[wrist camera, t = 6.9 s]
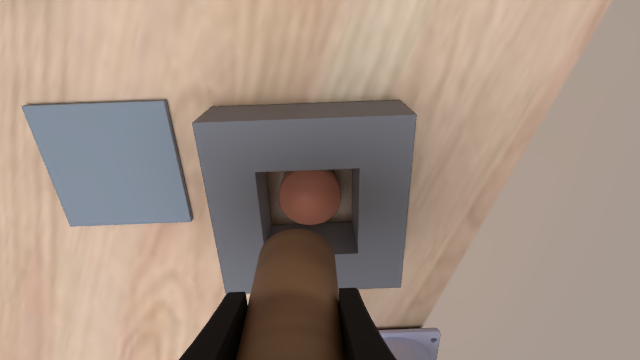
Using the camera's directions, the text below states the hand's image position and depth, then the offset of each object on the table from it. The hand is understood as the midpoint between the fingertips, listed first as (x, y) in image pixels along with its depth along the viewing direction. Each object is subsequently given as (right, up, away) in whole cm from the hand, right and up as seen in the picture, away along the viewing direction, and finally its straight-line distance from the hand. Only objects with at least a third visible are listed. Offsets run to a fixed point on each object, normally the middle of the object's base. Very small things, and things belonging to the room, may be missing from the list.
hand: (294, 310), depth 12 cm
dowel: (0, +1, +3) cm, 3 cm away
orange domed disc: (0, +4, +9) cm, 10 cm away
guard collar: (0, +4, +9) cm, 10 cm away
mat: (-12, +6, +9) cm, 16 cm away
